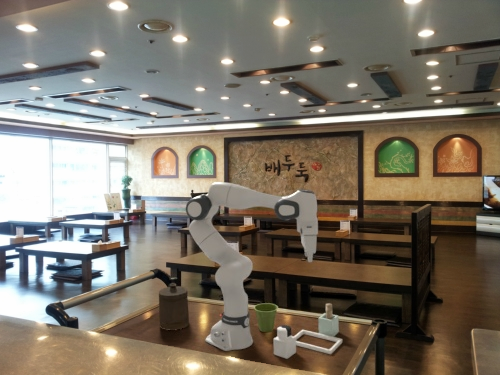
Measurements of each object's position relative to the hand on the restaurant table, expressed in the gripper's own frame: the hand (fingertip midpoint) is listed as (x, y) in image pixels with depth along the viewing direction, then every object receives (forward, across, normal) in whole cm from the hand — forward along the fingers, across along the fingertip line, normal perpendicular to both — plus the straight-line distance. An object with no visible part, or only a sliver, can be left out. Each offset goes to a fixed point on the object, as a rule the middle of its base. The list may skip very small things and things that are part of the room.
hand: (308, 258), depth 179 cm
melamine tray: (+41, -5, +2) cm, 41 cm away
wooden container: (+40, -32, -66) cm, 84 cm away
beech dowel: (+40, -14, +10) cm, 43 cm away
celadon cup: (+41, -14, +10) cm, 44 cm away
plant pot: (+41, -23, -19) cm, 50 cm away
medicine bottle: (+41, +2, -12) cm, 43 cm away
